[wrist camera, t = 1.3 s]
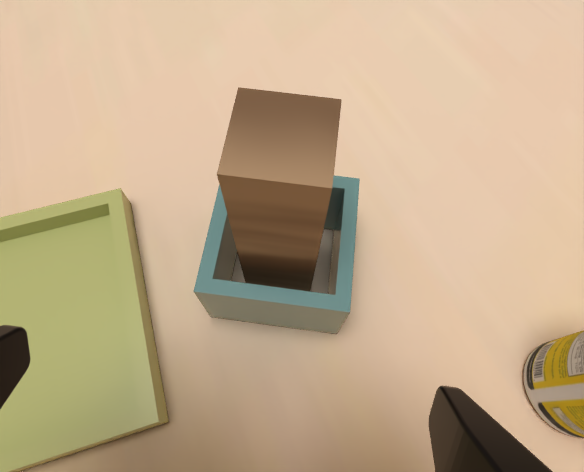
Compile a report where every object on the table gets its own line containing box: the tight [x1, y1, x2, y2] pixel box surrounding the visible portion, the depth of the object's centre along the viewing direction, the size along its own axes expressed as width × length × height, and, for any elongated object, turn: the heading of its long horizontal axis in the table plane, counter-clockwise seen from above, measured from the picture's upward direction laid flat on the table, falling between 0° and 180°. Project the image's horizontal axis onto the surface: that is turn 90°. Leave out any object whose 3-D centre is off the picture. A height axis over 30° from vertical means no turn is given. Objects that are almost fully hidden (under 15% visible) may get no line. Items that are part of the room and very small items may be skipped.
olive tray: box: [0, 188, 169, 472], centre depth 21 cm, size 13×13×2 cm
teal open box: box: [194, 176, 359, 334], centre depth 22 cm, size 7×7×5 cm
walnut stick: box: [217, 88, 341, 292], centre depth 18 cm, size 4×4×12 cm
